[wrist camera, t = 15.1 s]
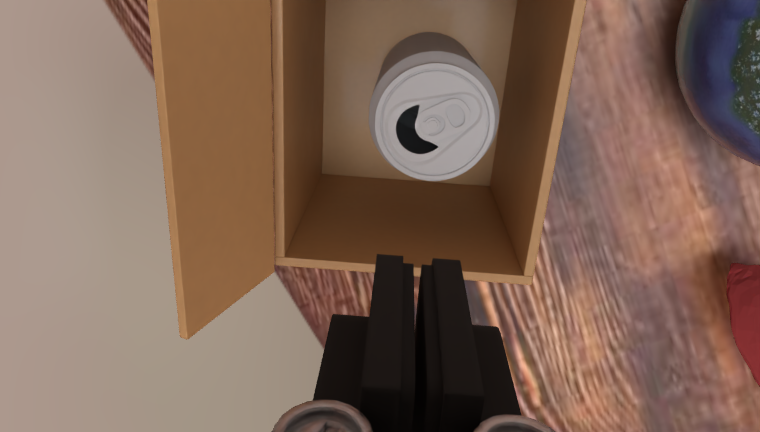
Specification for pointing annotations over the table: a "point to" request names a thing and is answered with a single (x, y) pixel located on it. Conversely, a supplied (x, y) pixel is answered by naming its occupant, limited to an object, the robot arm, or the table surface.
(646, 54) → the table surface
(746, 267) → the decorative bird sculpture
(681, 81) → the vase
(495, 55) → the carton
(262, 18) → the flap
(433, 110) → the beverage can
